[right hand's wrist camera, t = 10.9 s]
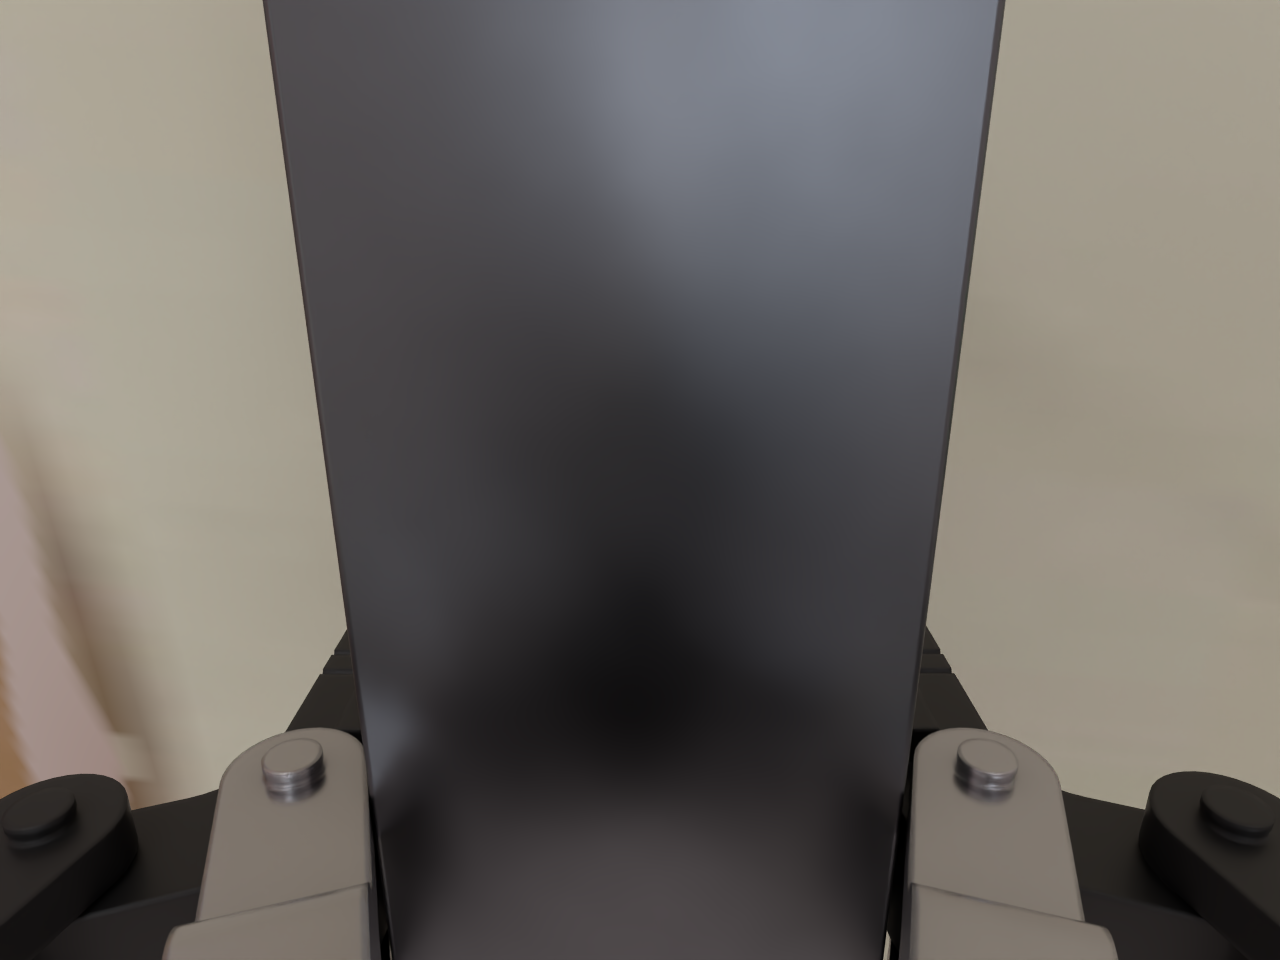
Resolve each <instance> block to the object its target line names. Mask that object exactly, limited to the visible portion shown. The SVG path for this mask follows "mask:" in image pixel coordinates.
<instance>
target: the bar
mask: <svg viewBox="0 0 1280 960" xmlns="http://www.w3.org/2000/svg"><path fill="white" fill-rule="evenodd" d="M1005 1H1006V0H263V7H264V14H265V22H266V29H267V37H268V44H269V52H270V59H271V66H272V74H273V81H274V89H275V96H276V103H277V111H278V118H279V126H280V133H281V141H282V148H283V155H284V163H285V170H286V178H287V185H288V193H289V200H290V207H291V215H292V222H293V230H294V237H295V244H296V252H297V259H298V267H299V274H300V282H301V289H302V296H303V304H304V311H305V319H306V326H307V334H308V341H309V348H310V356H311V363H312V371H313V378H314V386H315V393H316V400H317V408H318V415H319V423H320V430H321V437H322V445H323V452H324V460H325V467H326V475H327V482H328V489H329V497H330V504H331V512H332V519H333V527H334V534H335V541H336V549H337V556H338V564H339V571H340V578H341V586H342V593H343V601H344V608H345V616H346V623H347V630H348V638H349V645H350V653H351V660H352V668H353V675H354V682H355V690H356V697H357V705H358V712H359V719H360V727H361V734H362V742H363V749H364V757H365V764H366V771H367V779H368V786H369V794H370V801H371V809H372V816H373V823H374V831H375V838H376V846H377V853H378V861H379V868H380V875H381V883H382V890H383V898H384V905H385V912H386V920H387V927H388V935H389V942H390V950H391V957H392V960H883V956H884V948H885V940H886V933H887V925H888V917H889V909H890V901H891V893H892V886H893V878H894V870H895V862H896V854H897V846H898V839H899V831H900V823H901V815H902V807H903V799H904V792H905V784H906V776H907V768H908V760H909V752H910V745H911V737H912V729H913V721H914V713H915V705H916V698H917V690H918V682H919V674H920V666H921V659H922V651H923V643H924V635H925V627H926V619H927V612H928V604H929V596H930V588H931V580H932V572H933V565H934V557H935V549H936V541H937V533H938V525H939V518H940V510H941V502H942V494H943V486H944V478H945V471H946V463H947V455H948V447H949V439H950V431H951V424H952V416H953V408H954V400H955V392H956V384H957V377H958V369H959V361H960V353H961V345H962V337H963V330H964V322H965V314H966V306H967V298H968V291H969V283H970V275H971V267H972V259H973V251H974V244H975V236H976V228H977V220H978V212H979V204H980V197H981V189H982V181H983V173H984V165H985V157H986V150H987V142H988V134H989V126H990V118H991V110H992V103H993V95H994V87H995V79H996V71H997V63H998V56H999V48H1000V40H1001V32H1002V24H1003V16H1004V9H1005Z"/></svg>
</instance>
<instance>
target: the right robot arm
mask: <svg viewBox="0 0 1280 960" xmlns="http://www.w3.org/2000/svg"><path fill="white" fill-rule="evenodd" d="M887 931H888V934H889V936H890V941H889V948H888V956H887V960H1280V799H1279V798H1278V797H1276V796H1274V795H1272V794H1270V793H1268V792H1266V791H1265V790H1262V789H1260V788H1258V787H1256V786H1253V785H1251V784H1248V783H1246V782H1243V781H1240V780H1237V779H1234V778H1230V777H1227V776H1223V775H1218V774H1213V773H1206V772H1196V771H1191V772H1177V773H1172V774H1169V775H1166V776H1163V777H1162V778H1160V779H1158V780H1157V781H1156V782H1155V783H1154V784H1153V785H1152V787H1151V790H1150V792H1149V796H1148V800H1147V804H1146V808H1145V810H1143V809H1139V808H1134V807H1129V806H1125V805H1120V804H1115V803H1111V802H1106V801H1101V800H1097V799H1092V798H1087V797H1083V796H1079V795H1075V794H1071V793H1068V792H1065V791H1062V790H1061V785H1060V782H1059V779H1058V776H1057V774H1056V772H1055V771H1054V769H1053V768H1052V766H1051V765H1050V764H1049V763H1048V762H1047V761H1046V760H1045V759H1044V758H1043V757H1042V756H1041V755H1040V754H1039V753H1037V752H1036V751H1034V750H1033V749H1031V748H1030V747H1028V746H1027V745H1025V744H1023V743H1021V742H1019V741H1017V740H1015V739H1012V738H1010V737H1008V736H1005V735H1002V734H999V733H996V732H992V731H988V729H987V728H986V726H985V724H984V723H983V721H982V719H981V718H980V716H979V714H978V713H977V711H976V709H975V707H974V706H973V704H972V702H971V701H970V699H969V697H968V696H967V694H966V692H965V691H964V689H963V687H962V686H961V684H960V682H959V680H958V679H957V677H956V675H955V674H954V673H952V672H951V667H950V665H949V664H948V662H947V660H946V658H945V657H944V655H943V654H940V648H939V647H938V645H937V643H936V642H935V640H934V638H933V636H932V635H931V633H930V631H929V630H928V628H927V627H925V635H924V643H923V651H922V659H921V666H920V674H919V682H918V690H917V698H916V705H915V713H914V721H913V729H912V737H911V745H910V752H909V760H908V768H907V776H906V784H905V792H904V799H903V807H902V815H901V823H900V831H899V839H898V846H897V854H896V862H895V870H894V878H893V886H892V893H891V901H890V909H889V917H888V925H887ZM0 960H392V957H391V950H390V942H389V935H388V927H387V920H386V912H385V905H384V898H383V890H382V883H381V875H380V868H379V861H378V853H377V846H376V838H375V831H374V823H373V816H372V809H371V801H370V794H369V786H368V779H367V771H366V764H365V757H364V749H363V742H362V734H361V727H360V719H359V712H358V705H357V697H356V690H355V682H354V675H353V668H352V660H351V653H350V645H349V638H348V630H346V632H345V634H344V635H343V637H342V639H341V640H340V642H339V644H338V645H337V647H336V649H335V650H334V655H331V657H330V659H329V660H328V662H327V664H326V665H325V667H324V669H323V674H320V675H319V677H318V679H317V680H316V682H315V684H314V685H313V687H312V688H311V690H310V692H309V693H308V695H307V697H306V698H305V700H304V702H303V703H302V705H301V707H300V708H299V710H298V712H297V713H296V715H295V717H294V718H293V720H292V722H291V723H290V725H289V727H288V728H287V730H286V732H284V733H281V734H278V735H275V736H272V737H270V738H268V739H265V740H263V741H261V742H259V743H257V744H255V745H253V746H252V747H250V748H249V749H247V750H246V751H244V752H243V753H241V754H240V755H239V756H238V757H237V758H236V759H235V760H233V762H232V763H231V764H230V765H229V766H228V768H227V769H226V771H225V772H224V774H223V776H222V778H221V782H220V785H219V789H217V790H214V791H212V792H209V793H206V794H203V795H199V796H195V797H191V798H187V799H183V800H178V801H173V802H169V803H164V804H159V805H155V806H150V807H145V808H141V809H136V810H131V808H130V804H129V800H128V796H127V793H126V790H125V788H124V787H123V786H122V785H121V783H119V782H118V781H116V780H115V779H113V778H110V777H107V776H103V775H97V774H75V775H66V776H61V777H56V778H52V779H48V780H45V781H41V782H38V783H35V784H32V785H30V786H27V787H24V788H22V789H20V790H18V791H15V792H13V793H11V794H9V795H7V796H6V797H4V798H2V799H0Z"/></svg>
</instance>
